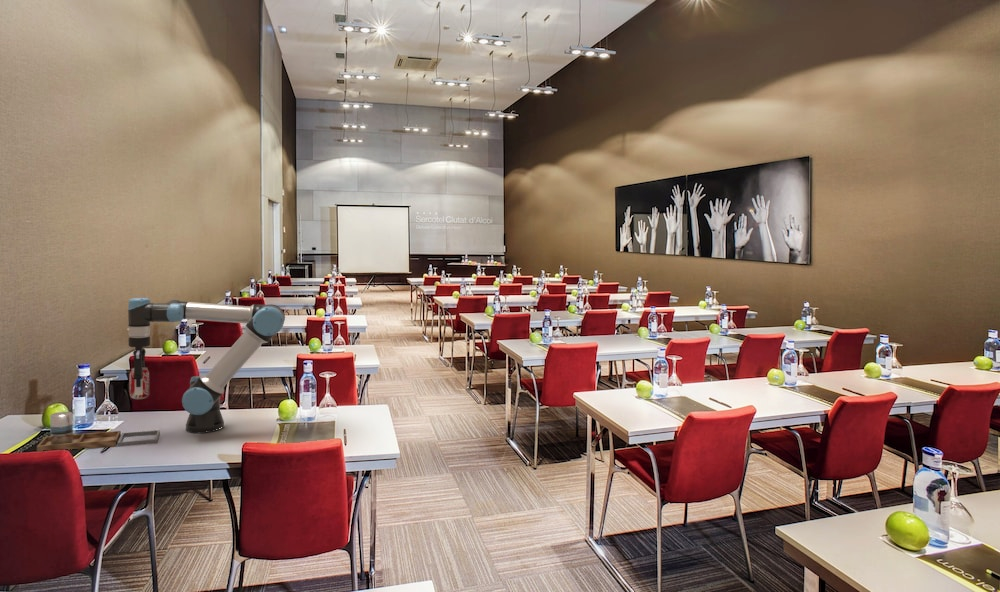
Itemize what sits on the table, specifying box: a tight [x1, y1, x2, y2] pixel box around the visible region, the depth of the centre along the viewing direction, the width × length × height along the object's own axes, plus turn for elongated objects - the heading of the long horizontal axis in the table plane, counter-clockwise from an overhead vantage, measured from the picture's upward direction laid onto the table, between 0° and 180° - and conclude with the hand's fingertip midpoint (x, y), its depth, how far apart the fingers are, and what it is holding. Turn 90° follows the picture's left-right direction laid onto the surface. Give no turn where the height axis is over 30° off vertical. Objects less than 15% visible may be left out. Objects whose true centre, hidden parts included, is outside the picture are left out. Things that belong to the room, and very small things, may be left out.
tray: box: [116, 429, 161, 447], centre depth 250 cm, size 14×14×2 cm
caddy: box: [36, 430, 122, 452], centre depth 242 cm, size 25×13×2 cm, turn 115°
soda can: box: [128, 366, 151, 400], centre depth 249 cm, size 7×7×12 cm
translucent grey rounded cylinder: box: [49, 411, 74, 445], centre depth 239 cm, size 7×7×12 cm
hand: (139, 392), depth 249 cm, fingers closed on soda can, 7 cm apart
